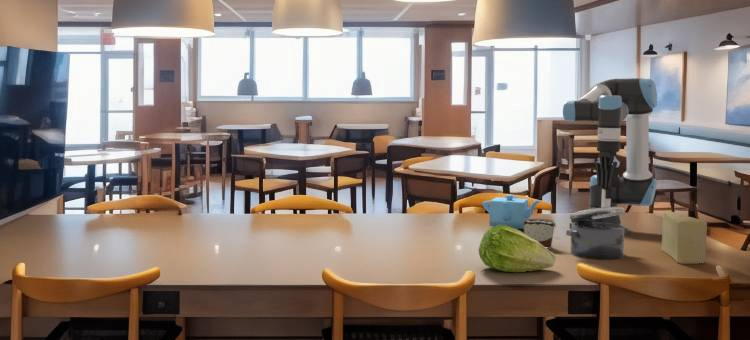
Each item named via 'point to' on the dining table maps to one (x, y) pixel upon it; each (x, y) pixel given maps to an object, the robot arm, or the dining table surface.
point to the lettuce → (513, 251)
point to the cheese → (684, 238)
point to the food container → (540, 230)
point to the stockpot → (597, 240)
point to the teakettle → (509, 211)
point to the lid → (595, 214)
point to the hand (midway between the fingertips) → (605, 207)
